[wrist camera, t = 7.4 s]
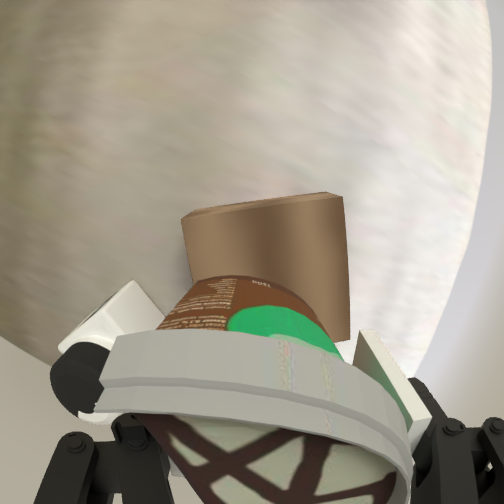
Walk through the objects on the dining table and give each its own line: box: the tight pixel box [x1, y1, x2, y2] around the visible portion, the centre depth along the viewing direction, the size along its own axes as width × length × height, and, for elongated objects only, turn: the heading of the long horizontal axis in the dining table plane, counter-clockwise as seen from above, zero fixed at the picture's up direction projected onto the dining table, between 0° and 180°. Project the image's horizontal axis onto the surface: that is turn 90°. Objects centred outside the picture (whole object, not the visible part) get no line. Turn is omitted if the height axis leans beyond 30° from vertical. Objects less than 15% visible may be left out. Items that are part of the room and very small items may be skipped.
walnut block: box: [181, 192, 350, 343], centre depth 27 cm, size 12×12×6 cm
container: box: [50, 280, 165, 425], centre depth 25 cm, size 8×8×13 cm
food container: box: [93, 275, 413, 504], centre depth 11 cm, size 12×6×10 cm, turn 19°
